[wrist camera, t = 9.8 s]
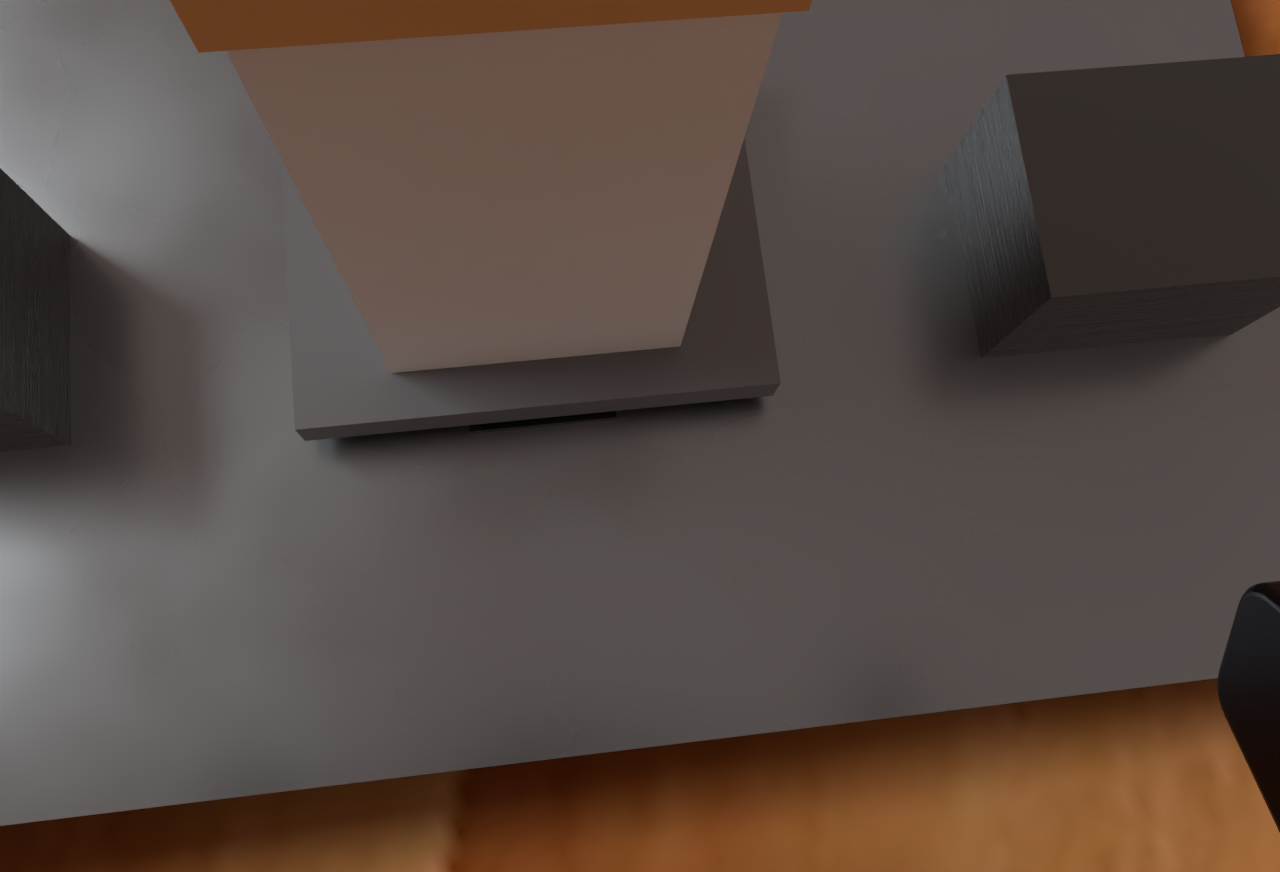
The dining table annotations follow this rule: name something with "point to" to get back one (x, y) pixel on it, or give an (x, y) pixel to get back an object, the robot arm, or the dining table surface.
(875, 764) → the dining table surface
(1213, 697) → the dining table surface
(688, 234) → the handle
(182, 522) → the plate
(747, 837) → the dining table surface
